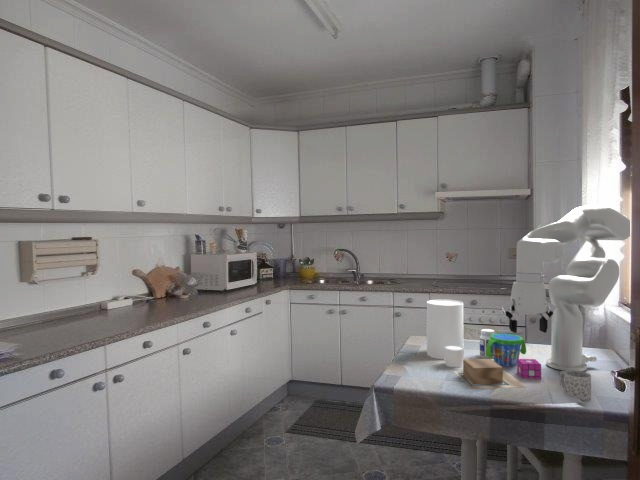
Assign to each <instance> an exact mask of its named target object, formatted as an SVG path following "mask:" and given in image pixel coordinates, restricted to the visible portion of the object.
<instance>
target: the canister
mask: <svg viewBox="0 0 640 480" xmlns="http://www.w3.org/2000/svg"><path fill="white" fill-rule="evenodd" d="M449 345H454V346H461V347H463V348H464V302H463V301H461V300H454V299H430V300H427V301H426V355H428V356H429V357H430V358H432V359H439V360H445V356H444V347H445V346H449Z"/></svg>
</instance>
